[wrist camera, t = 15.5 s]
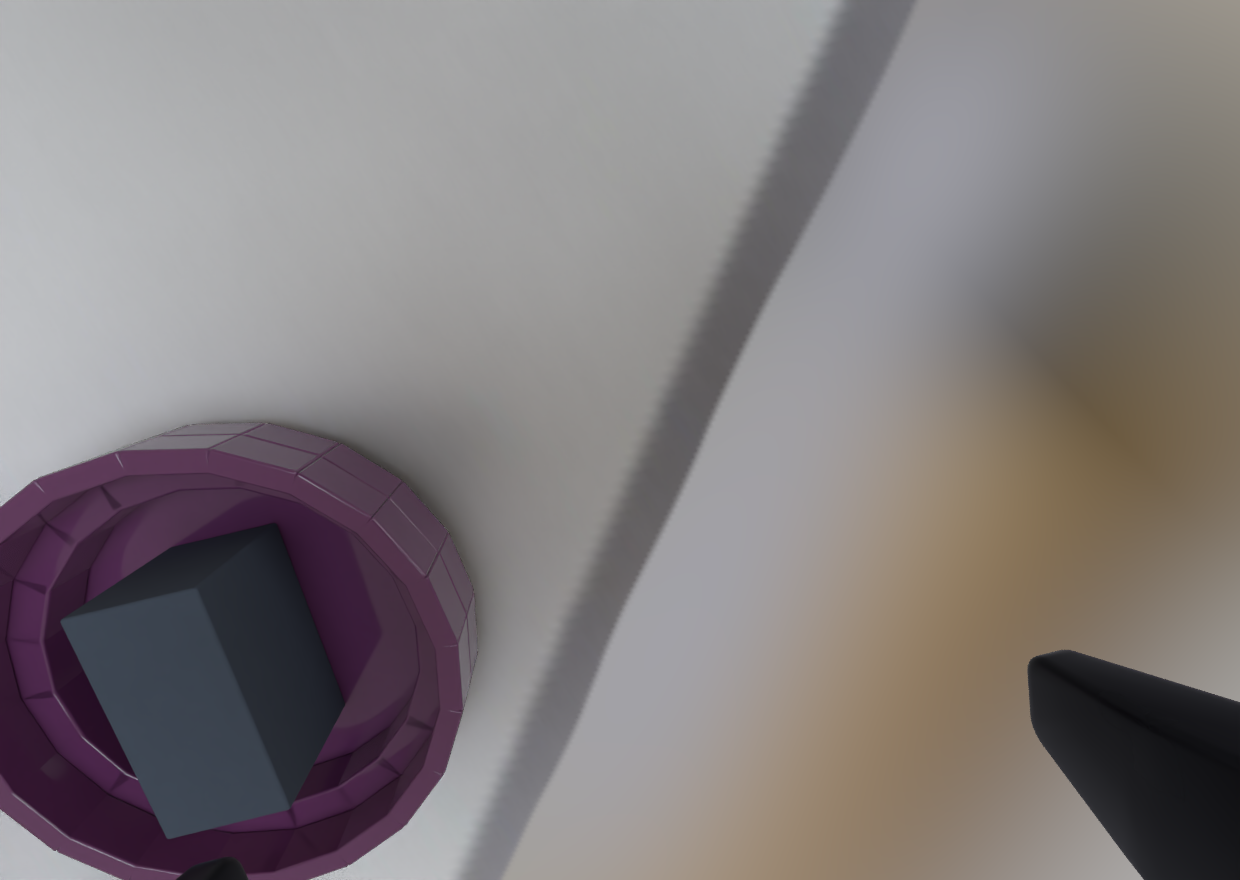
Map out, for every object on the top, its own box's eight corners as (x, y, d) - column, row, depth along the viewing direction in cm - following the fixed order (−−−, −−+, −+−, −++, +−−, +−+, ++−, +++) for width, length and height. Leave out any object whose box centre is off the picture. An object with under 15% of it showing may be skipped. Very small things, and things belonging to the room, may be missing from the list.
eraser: (169, 546, 18) (57, 620, 14) (277, 521, 18) (195, 587, 14) (247, 728, 19) (166, 841, 15) (346, 704, 19) (290, 811, 15)
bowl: (77, 362, 17) (-47, 382, 13) (526, 485, 19) (517, 529, 15) (24, 749, 19) (-92, 847, 16) (426, 825, 21) (398, 928, 18)
